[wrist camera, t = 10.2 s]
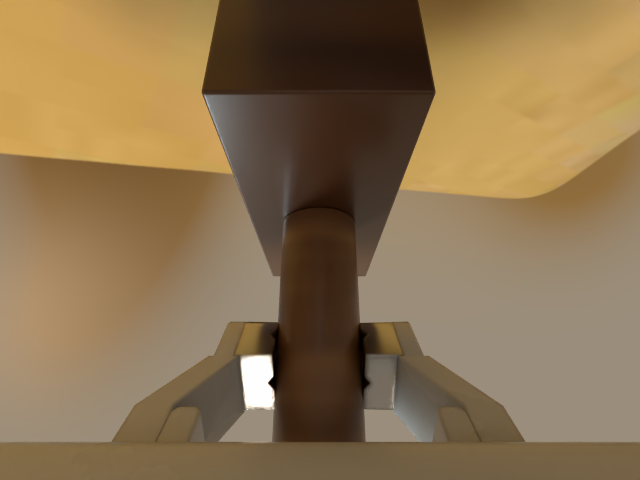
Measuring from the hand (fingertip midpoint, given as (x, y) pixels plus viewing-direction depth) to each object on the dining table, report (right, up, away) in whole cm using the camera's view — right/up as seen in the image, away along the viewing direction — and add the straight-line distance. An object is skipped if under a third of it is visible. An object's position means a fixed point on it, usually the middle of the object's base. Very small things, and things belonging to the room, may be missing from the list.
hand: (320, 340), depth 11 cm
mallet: (0, +7, +2) cm, 7 cm away
